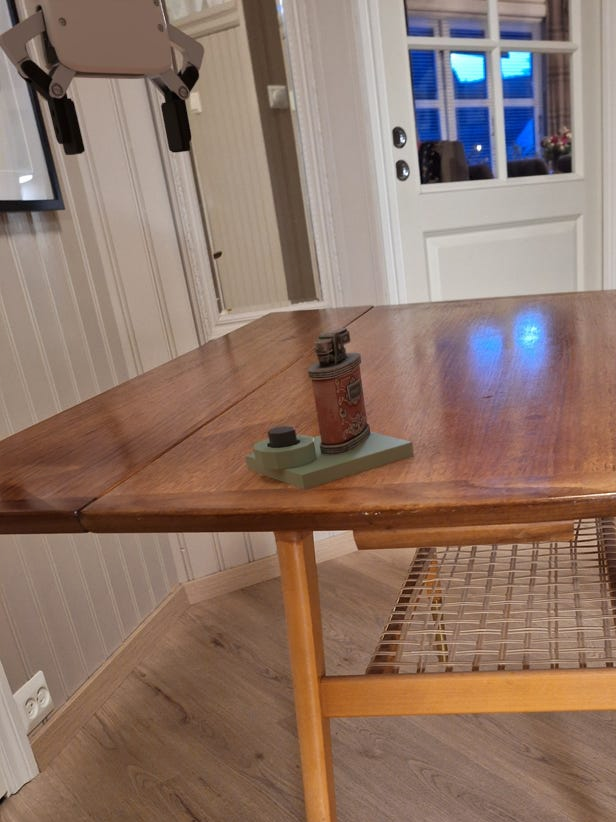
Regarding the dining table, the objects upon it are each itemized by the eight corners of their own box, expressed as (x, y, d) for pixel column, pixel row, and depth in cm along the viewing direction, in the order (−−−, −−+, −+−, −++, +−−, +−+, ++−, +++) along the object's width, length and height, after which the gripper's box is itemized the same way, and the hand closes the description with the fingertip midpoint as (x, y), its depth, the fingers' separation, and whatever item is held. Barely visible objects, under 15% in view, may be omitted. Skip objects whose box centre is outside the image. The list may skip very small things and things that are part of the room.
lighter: (347, 455, 78) (331, 339, 73) (313, 455, 79) (294, 340, 74) (377, 431, 85) (364, 323, 80) (345, 431, 85) (330, 325, 81)
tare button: (279, 452, 76) (276, 434, 75) (265, 447, 77) (262, 430, 77) (302, 445, 77) (300, 428, 76) (288, 441, 79) (285, 424, 78)
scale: (293, 494, 74) (287, 459, 72) (236, 473, 80) (229, 441, 79) (414, 456, 81) (410, 424, 80) (352, 440, 88) (348, 410, 86)
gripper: (162, -67, 77) (200, 153, 85) (-50, -94, 68) (15, 157, 76) (199, -87, 72) (236, 148, 80) (-24, -119, 62) (43, 152, 71)
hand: (129, 152), depth 78 cm, fingers open, 9 cm apart
